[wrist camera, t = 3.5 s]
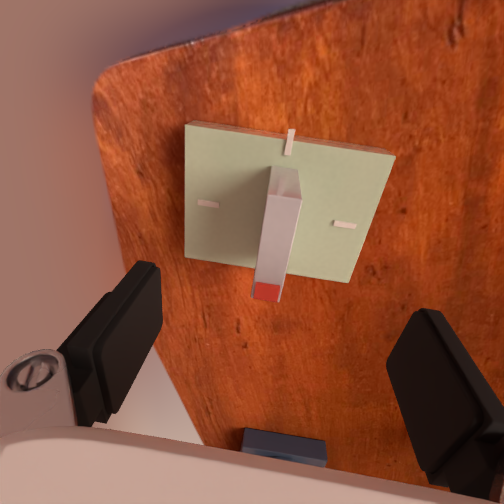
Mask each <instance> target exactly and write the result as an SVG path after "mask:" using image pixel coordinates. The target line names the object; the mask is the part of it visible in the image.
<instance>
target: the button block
mask: <svg viewBox="0 0 504 504" xmlns="http://www.w3.org/2000/svg"><path fill="white" fill-rule="evenodd" d="M240 452H243V453H248V454H253V455H259V456H264V457H269V458H275V459H280V460H285V461H291V462H296V463H301V464H307V465H312V466H317V467H323V468H324V466H325V465H326V463H327V453H326V444H325V441H321V440H315V439H309V438H303V437H297V436H291V435H285V434H279V433H273V432H267V431H261V430H255V429H250V428H245V429H244V434H243V439H242V443H241V448H240Z"/></svg>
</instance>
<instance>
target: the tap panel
mask: <svg viewBox="0 0 504 504" xmlns="http://www.w3.org/2000/svg"><path fill="white" fill-rule="evenodd" d="M294 133H295V129H290V128H289V129H288V134H283V133H276V132H269V131H263V130H256V129H249V128H243V127H236V126H229V125H223V124H216V123H209V122H202V121H196V120H194V121H192V122H190V123H188V124H185V257H186V258H192V259H199V260H205V261H211V262H218V263H224V264H230V265H237V266H243V267H249V268H255V266H256V260H257V253H258V247H259V240H260V234H261V228H262V221H263V215H264V209H265V202H266V196H267V190H268V183H269V177H270V171H271V166H278V167H285V168H292V169H297V170H298V173H299V180H300V187H301V194H302V205H301V210H300V214H299V218H298V223H297V227H296V232H295V236H294V240H293V245H292V249H291V253H290V258H289V262H288V267H287V271H286V273H287V274H293V275H300V276H306V277H312V278H319V279H325V280H331V281H338V282H344V283H349V280H350V277H351V275H352V272H353V269H354V267H355V264H356V261H357V259H358V256H359V253H360V251H361V248H362V245H363V243H364V240H365V237H366V235H367V232H368V229H369V227H370V224H371V221H372V219H373V216H374V214H375V211H376V208H377V206H378V203H379V200H380V198H381V195H382V192H383V190H384V187H385V184H386V182H387V179H388V176H389V174H390V171H391V168H392V166H393V163H394V160H395V158H396V156H395V155H393V154H392V153H390V152H389V151H388V150H386V149H383V148H377V147H370V146H363V145H357V144H350V143H343V142H336V141H330V140H323V139H316V138H310V137H303V136H296V135H294Z"/></svg>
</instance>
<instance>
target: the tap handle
mask: <svg viewBox="0 0 504 504" xmlns="http://www.w3.org/2000/svg"><path fill="white" fill-rule="evenodd" d="M301 205H302V194H301V187H300V180H299V173H298V170H297V169H292V168H285V167H278V166H271V171H270V177H269V183H268V190H267V196H266V202H265V209H264V215H263V221H262V228H261V234H260V240H259V247H258V253H257V260H256V266H255V272H254V279H253V285H252V292H251V298H254V299H259V300H265V301H272V302H279V301H280V297H281V293H282V288H283V284H284V280H285V275H286V271H287V267H288V262H289V258H290V253H291V249H292V245H293V240H294V236H295V232H296V227H297V223H298V218H299V214H300V210H301Z"/></svg>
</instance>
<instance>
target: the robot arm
mask: <svg viewBox="0 0 504 504" xmlns="http://www.w3.org/2000/svg"><path fill="white" fill-rule="evenodd" d="M162 323H163V315H162V294H161V274H160V268H158V267H156V265H155V263H152V262H146V261H140V260H139V261H137V262H136V264H135V265H134V266H133V267H132V268H131V269H130V271H129V272H128V273H127V274H126V275H125V277H124V278H123V279H122V280H121V281H120V283H119V284H118V285H117V286H116V287H115V289H114V290H113V291H112V292H108V293H106V294H105V295H104V296H103V297H102V298H101V299H100V301H99V302H98V303H97V304H96V305H95V306H94V308H93V309H92V310H91V311H90V312H89V313H88V314H87V316H86V317H85V318H84V319H83V320H82V321H81V322H80V324H79V325H78V326H77V327H76V328H75V330H74V331H73V332H72V333H71V334H70V335H69V336H68V338H67V339H66V340H65V341H64V342H63V343H62V344H61V346H60V347H59V348H58V349H57V350H56V351H55V350H51V349H46V350H45V349H43V350H38V351H33V352H30V353H28V354H25V355H23V356H21V357H19V358H18V359H16V360H14V361H13V362H12V363H11V364H10V365H9V366H7V367H6V368H5V370H4V371H3V373H2V374H1V376H0V504H504V407H503V405H502V404H501V402H500V401H499V399H498V398H497V396H496V395H495V393H494V392H493V390H492V389H491V387H490V386H489V384H488V383H487V381H486V379H485V378H484V376H483V375H482V373H481V372H480V370H479V369H478V367H477V366H476V364H475V363H474V361H473V360H472V358H471V357H470V355H469V354H468V352H467V350H466V349H465V347H464V346H463V344H462V343H461V341H460V340H459V338H458V337H457V335H456V334H455V332H454V331H453V329H452V328H451V326H450V325H449V323H448V322H447V320H446V318H445V317H444V315H443V314H442V313H441V312H440V311H437V310H431V309H426V308H421V309H419V310H418V311H415V312H414V313H413V314H412V316H411V318H410V319H409V321H408V323H407V325H406V327H405V328H404V330H403V332H402V334H401V336H400V337H399V339H398V341H397V343H396V345H395V346H394V348H393V350H392V352H391V354H390V355H389V357H388V359H387V362H386V368H387V372H388V375H389V378H390V381H391V384H392V387H393V390H394V393H395V396H396V398H397V401H398V404H399V407H400V410H401V413H402V416H403V419H404V422H405V425H406V428H407V431H408V434H409V437H410V440H411V443H412V446H413V449H414V452H415V455H416V458H417V461H418V464H419V466H420V468H421V469H422V470H423V471H425V473H426V476H427V478H428V481H429V484H432V485H437V486H443V487H449V488H450V491H451V492H446V491H441V490H437V489H432V488H427V487H422V486H417V485H411V484H406V483H401V482H396V481H391V480H385V479H380V478H375V477H370V476H365V475H360V474H354V473H349V472H344V471H339V470H333V469H328V468H323V467H317V466H312V465H307V464H301V463H296V462H291V461H285V460H280V459H275V458H269V457H264V456H259V455H253V454H248V453H243V452H237V451H232V450H226V449H221V448H215V447H210V446H204V445H198V444H193V443H187V442H182V441H177V440H171V439H166V438H159V437H154V436H148V435H141V434H135V433H128V432H122V431H117V430H111V429H102V428H93V427H92V425H93V423H94V422H95V421H96V422H100V423H107V421H108V419H109V418H110V416H111V414H112V413H113V414H116V413H117V412H118V411H119V409H120V407H121V405H122V403H123V401H124V399H125V397H126V395H127V394H128V392H129V390H130V388H131V386H132V384H133V382H134V380H135V378H136V376H137V374H138V372H139V370H140V368H141V366H142V365H143V363H144V361H145V359H146V357H147V355H148V353H149V351H150V349H151V347H152V345H153V343H154V341H155V339H156V338H157V336H158V334H159V332H160V330H161V327H162Z"/></svg>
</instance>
